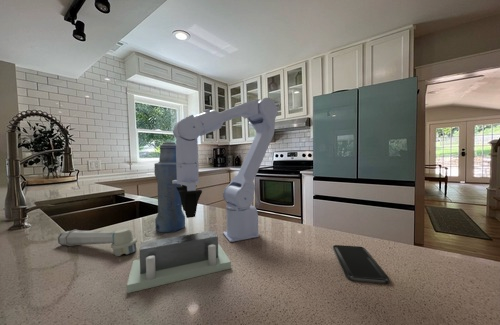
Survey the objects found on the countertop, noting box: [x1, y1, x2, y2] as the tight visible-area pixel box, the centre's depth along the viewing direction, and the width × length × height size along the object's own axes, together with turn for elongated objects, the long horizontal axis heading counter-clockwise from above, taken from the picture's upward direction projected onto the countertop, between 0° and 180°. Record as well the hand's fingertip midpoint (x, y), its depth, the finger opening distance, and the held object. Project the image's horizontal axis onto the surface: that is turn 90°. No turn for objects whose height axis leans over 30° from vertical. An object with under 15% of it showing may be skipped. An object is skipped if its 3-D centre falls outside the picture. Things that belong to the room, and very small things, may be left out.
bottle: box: [153, 141, 186, 233], centre depth 72 cm, size 10×10×30 cm
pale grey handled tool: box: [57, 228, 138, 257], centre depth 57 cm, size 5×7×25 cm
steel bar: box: [139, 230, 219, 274], centre depth 47 cm, size 16×4×5 cm, turn 113°
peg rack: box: [126, 231, 232, 294], centre depth 47 cm, size 20×10×6 cm, turn 113°
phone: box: [332, 244, 390, 285], centre depth 48 cm, size 8×1×15 cm
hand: (188, 213), depth 57 cm, fingers open, 7 cm apart
